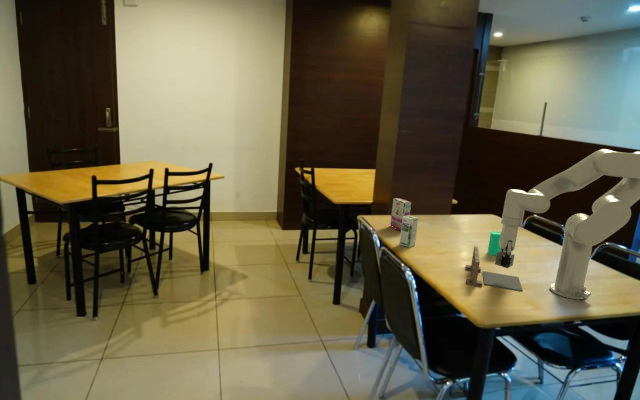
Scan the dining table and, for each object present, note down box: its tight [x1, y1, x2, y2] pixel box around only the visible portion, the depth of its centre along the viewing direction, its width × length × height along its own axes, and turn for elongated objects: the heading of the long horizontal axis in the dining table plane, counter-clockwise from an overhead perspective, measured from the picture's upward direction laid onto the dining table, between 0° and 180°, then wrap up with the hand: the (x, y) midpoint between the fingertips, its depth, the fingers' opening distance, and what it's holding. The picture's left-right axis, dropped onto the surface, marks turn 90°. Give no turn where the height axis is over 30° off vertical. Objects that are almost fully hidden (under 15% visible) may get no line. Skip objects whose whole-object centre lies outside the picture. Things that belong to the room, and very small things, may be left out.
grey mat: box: [482, 270, 524, 292], centre depth 173 cm, size 14×14×1 cm
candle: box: [487, 230, 502, 257], centre depth 205 cm, size 6×6×12 cm
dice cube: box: [494, 250, 516, 269], centre depth 171 cm, size 5×5×5 cm
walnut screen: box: [465, 245, 483, 287], centre depth 175 cm, size 20×6×10 cm, turn 162°
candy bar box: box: [390, 197, 412, 232], centre depth 236 cm, size 11×5×16 cm, turn 25°
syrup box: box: [399, 215, 419, 248], centre depth 209 cm, size 6×6×14 cm
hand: (504, 263), depth 172 cm, fingers closed on dice cube, 6 cm apart
